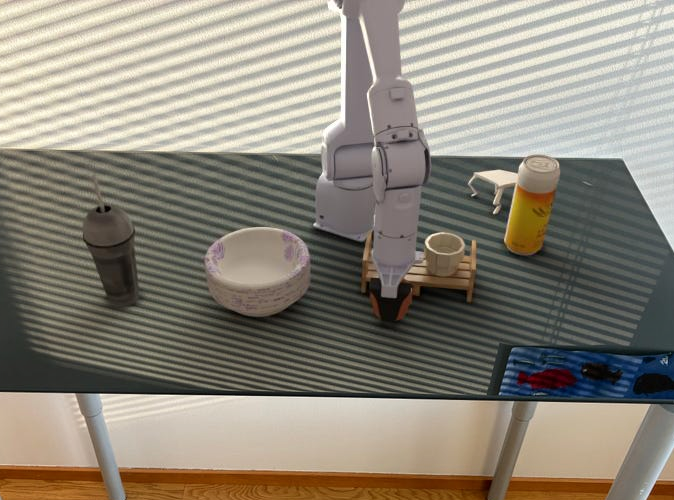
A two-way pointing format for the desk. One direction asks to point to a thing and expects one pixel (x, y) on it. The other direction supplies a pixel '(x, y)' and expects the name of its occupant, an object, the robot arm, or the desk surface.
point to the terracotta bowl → (403, 307)
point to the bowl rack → (427, 273)
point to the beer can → (532, 204)
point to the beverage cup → (112, 250)
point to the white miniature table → (495, 183)
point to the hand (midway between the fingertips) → (390, 306)
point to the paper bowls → (258, 270)
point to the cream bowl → (443, 253)
